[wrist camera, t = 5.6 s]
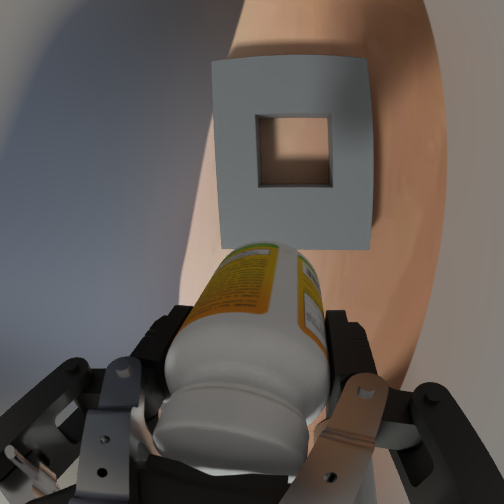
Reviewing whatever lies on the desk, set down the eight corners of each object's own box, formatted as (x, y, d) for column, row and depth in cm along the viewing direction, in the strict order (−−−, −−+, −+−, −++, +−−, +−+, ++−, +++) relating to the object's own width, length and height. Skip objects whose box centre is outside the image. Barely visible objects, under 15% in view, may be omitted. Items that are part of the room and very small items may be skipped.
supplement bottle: (203, 305, 15) (122, 453, 6) (238, 220, 13) (132, 363, 4) (290, 343, 15) (274, 505, 6) (338, 266, 13) (383, 445, 4)
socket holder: (362, 240, 27) (369, 250, 25) (228, 239, 29) (221, 248, 27) (359, 67, 21) (366, 58, 19) (219, 70, 24) (211, 61, 21)
